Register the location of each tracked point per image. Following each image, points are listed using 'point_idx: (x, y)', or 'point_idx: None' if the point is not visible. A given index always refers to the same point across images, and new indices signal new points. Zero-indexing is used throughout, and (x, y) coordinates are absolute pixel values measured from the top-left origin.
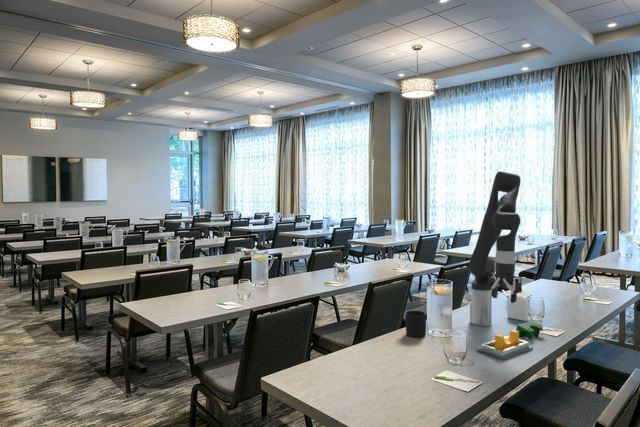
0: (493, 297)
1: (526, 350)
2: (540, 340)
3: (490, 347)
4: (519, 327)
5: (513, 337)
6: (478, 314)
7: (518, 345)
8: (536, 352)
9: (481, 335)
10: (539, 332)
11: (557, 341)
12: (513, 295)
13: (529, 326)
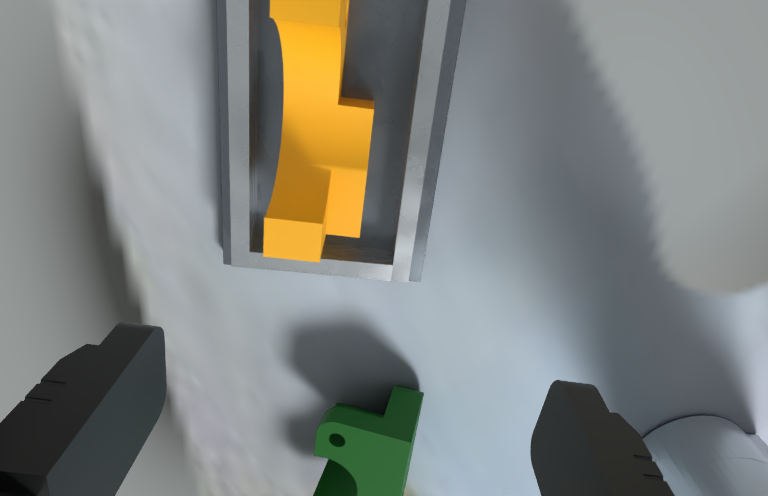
0: (576, 383)
1: (223, 190)
2: (291, 420)
3: None
4: (394, 429)
5: (289, 188)
6: (735, 477)
7: (235, 142)
8: (182, 224)
9: (603, 274)
10: (321, 481)
11: (224, 458)
12: (7, 454)
13: (355, 478)
